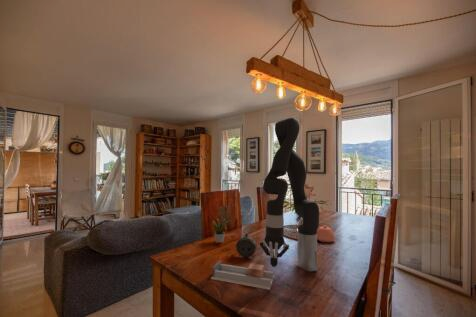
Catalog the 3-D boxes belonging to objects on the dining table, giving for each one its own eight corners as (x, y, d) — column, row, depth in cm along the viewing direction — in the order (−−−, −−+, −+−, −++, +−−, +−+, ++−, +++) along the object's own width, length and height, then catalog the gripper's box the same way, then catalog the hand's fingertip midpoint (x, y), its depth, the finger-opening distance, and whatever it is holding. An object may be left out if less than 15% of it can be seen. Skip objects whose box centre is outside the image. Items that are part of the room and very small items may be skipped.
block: (264, 276, 97) (264, 265, 97) (261, 282, 92) (261, 270, 92) (250, 274, 99) (250, 263, 99) (247, 280, 94) (247, 268, 94)
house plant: (232, 238, 153) (232, 215, 154) (232, 245, 139) (232, 219, 140) (211, 238, 153) (211, 215, 153) (209, 245, 139) (209, 219, 139)
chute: (274, 277, 99) (274, 266, 99) (269, 292, 87) (269, 279, 88) (221, 269, 107) (221, 258, 107) (210, 280, 96) (210, 269, 96)
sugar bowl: (338, 244, 145) (337, 228, 145) (316, 243, 145) (316, 228, 145) (330, 238, 157) (330, 223, 157) (310, 237, 157) (310, 223, 158)
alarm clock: (256, 257, 121) (256, 228, 121) (254, 261, 116) (255, 230, 116) (237, 255, 124) (237, 226, 124) (235, 259, 118) (235, 229, 119)
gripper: (291, 224, 95) (290, 265, 94) (261, 221, 100) (260, 260, 99) (289, 228, 88) (288, 272, 87) (257, 225, 93) (256, 266, 92)
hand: (273, 266), depth 93 cm, fingers closed
